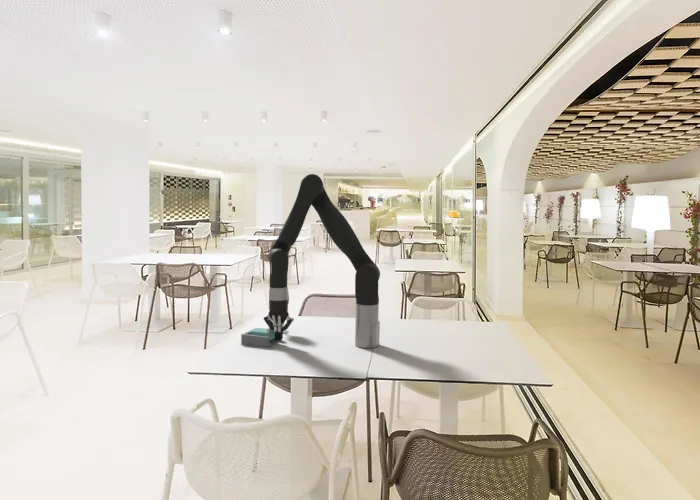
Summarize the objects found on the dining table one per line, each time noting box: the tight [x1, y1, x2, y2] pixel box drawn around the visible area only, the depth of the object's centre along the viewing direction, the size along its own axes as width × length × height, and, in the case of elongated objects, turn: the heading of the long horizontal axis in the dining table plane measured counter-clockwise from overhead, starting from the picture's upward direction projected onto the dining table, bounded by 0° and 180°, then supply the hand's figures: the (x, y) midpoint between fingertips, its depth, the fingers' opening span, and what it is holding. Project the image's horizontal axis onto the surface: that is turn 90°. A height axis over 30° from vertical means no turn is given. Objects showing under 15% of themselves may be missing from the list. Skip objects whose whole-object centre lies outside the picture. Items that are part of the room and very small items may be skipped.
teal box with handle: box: [249, 327, 275, 345], centre depth 198 cm, size 8×6×6 cm
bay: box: [240, 327, 276, 348], centre depth 198 cm, size 12×12×4 cm
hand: (278, 340), depth 196 cm, fingers closed
